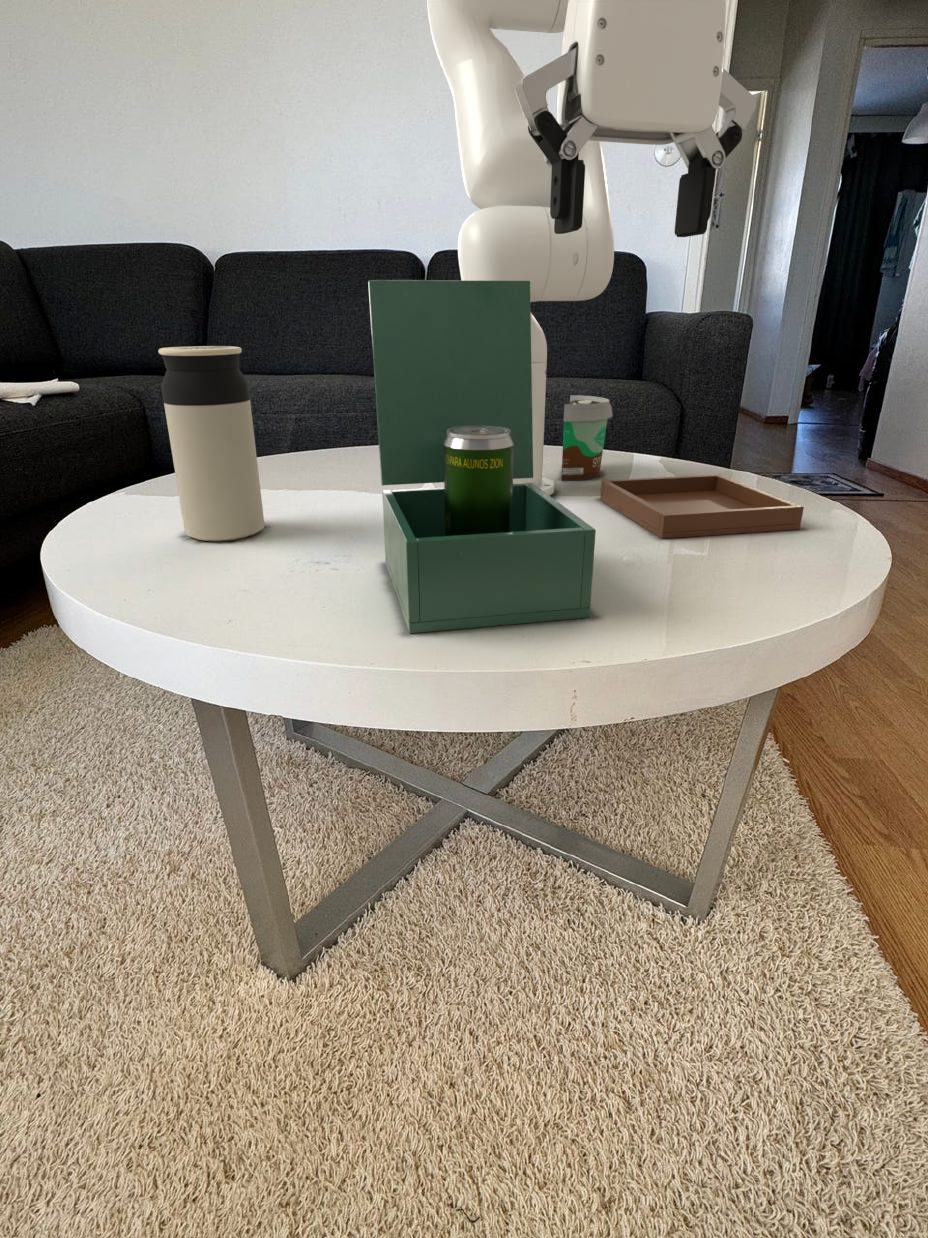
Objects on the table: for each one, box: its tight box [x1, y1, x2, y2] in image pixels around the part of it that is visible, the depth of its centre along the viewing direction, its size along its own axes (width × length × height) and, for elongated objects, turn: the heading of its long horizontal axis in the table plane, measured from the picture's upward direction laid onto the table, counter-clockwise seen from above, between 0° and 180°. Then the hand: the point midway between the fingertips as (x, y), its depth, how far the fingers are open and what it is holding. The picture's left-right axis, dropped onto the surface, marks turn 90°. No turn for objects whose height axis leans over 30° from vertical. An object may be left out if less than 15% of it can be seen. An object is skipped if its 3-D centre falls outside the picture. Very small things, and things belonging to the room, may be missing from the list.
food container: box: [560, 394, 613, 481], centre depth 99 cm, size 12×6×10 cm, turn 168°
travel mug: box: [157, 345, 265, 542], centre depth 72 cm, size 8×8×18 cm
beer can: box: [443, 426, 514, 536], centre depth 57 cm, size 5×5×12 cm
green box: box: [381, 483, 597, 634], centre depth 58 cm, size 16×14×7 cm
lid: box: [367, 279, 533, 486], centre depth 64 cm, size 16×14×5 cm
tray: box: [599, 473, 805, 540], centre depth 81 cm, size 17×16×2 cm
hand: (630, 233), depth 51 cm, fingers open, 9 cm apart
